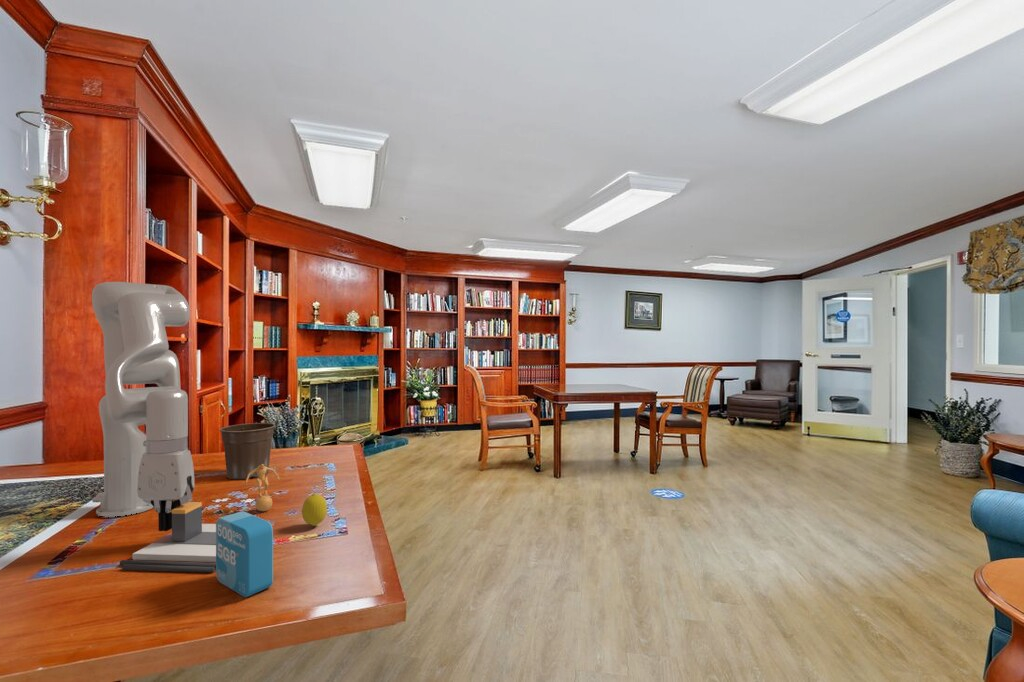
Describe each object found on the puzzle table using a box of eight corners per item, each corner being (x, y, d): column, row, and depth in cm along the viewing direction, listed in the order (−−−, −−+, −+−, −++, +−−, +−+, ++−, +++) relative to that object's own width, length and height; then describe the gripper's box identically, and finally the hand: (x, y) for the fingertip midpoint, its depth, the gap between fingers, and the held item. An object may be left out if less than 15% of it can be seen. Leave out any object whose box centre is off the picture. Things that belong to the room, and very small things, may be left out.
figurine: (248, 516, 120) (247, 469, 120) (242, 510, 125) (242, 465, 125) (283, 509, 126) (282, 464, 126) (276, 503, 130) (276, 459, 130)
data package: (215, 580, 89) (215, 516, 89) (240, 570, 92) (240, 509, 92) (248, 600, 82) (247, 531, 82) (273, 589, 86) (273, 522, 86)
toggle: (171, 541, 102) (171, 509, 102) (189, 531, 107) (189, 501, 107) (185, 541, 102) (185, 510, 102) (201, 532, 107) (201, 502, 107)
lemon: (331, 523, 116) (331, 491, 116) (315, 532, 111) (315, 498, 110) (313, 520, 118) (313, 488, 118) (296, 529, 112) (296, 495, 112)
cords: (112, 570, 92) (112, 565, 92) (123, 564, 95) (123, 559, 95) (212, 573, 91) (212, 568, 91) (221, 567, 94) (221, 562, 94)
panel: (131, 559, 97) (131, 552, 97) (189, 528, 113) (189, 522, 113) (227, 562, 96) (227, 555, 96) (272, 530, 112) (272, 524, 112)
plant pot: (234, 468, 165) (234, 422, 165) (282, 467, 167) (282, 421, 167) (209, 483, 149) (209, 431, 149) (263, 481, 151) (263, 430, 150)
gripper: (120, 449, 102) (120, 534, 102) (186, 450, 100) (187, 536, 101) (149, 441, 109) (150, 521, 109) (211, 442, 108) (211, 523, 108)
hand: (167, 528), depth 105 cm, fingers closed
